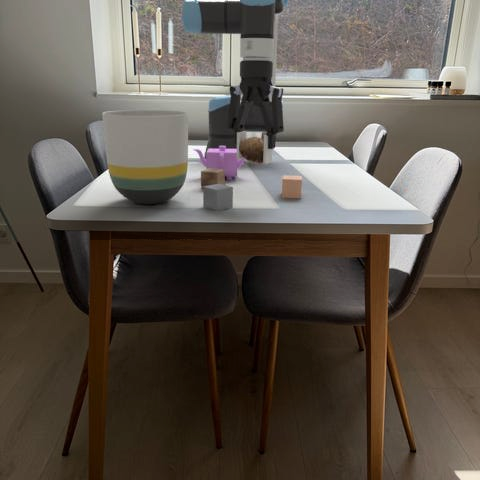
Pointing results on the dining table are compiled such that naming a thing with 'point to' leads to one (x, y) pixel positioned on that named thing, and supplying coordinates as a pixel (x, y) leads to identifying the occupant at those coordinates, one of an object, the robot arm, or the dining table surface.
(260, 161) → the mushroom
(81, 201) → the dining table surface
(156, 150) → the planter
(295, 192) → the terracotta cube
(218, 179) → the walnut cube
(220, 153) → the teapot
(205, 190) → the slate cube
